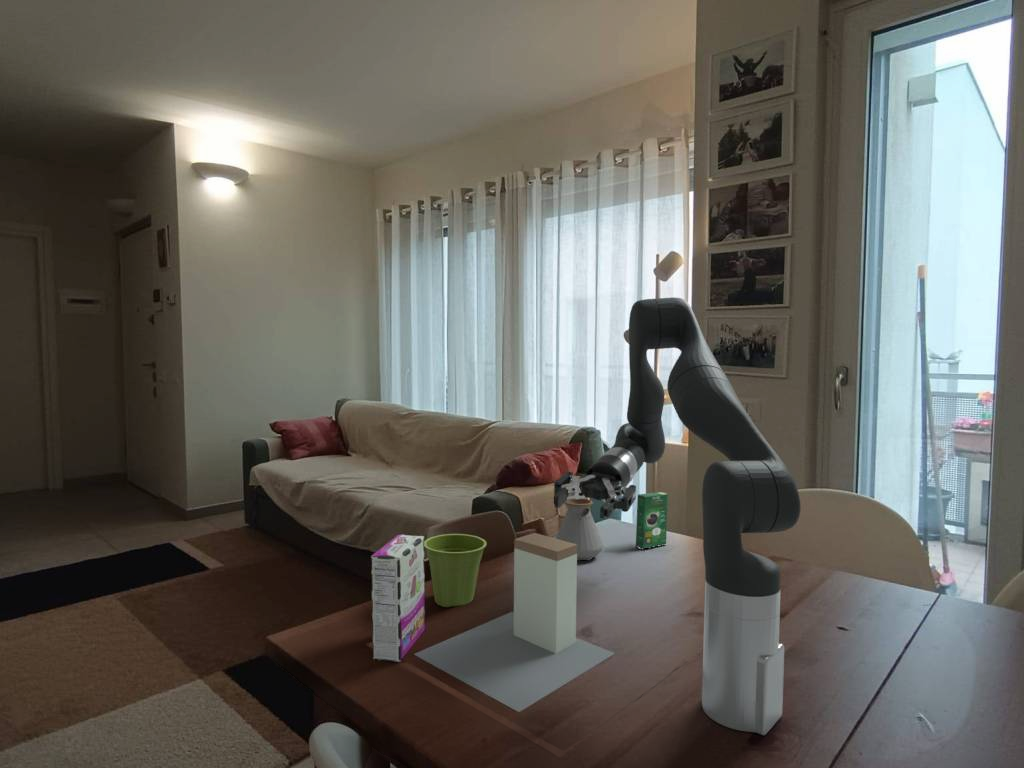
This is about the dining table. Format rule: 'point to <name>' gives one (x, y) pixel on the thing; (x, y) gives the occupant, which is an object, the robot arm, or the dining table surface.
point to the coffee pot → (580, 529)
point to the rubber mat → (511, 662)
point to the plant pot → (454, 567)
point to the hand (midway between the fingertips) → (578, 508)
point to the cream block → (545, 591)
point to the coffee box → (651, 519)
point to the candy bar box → (397, 597)
